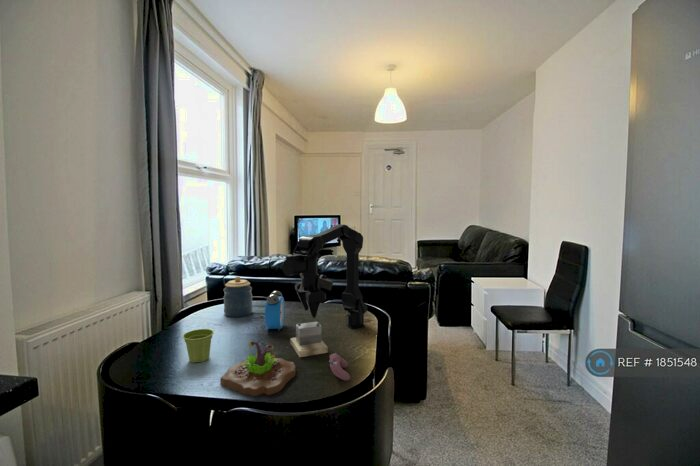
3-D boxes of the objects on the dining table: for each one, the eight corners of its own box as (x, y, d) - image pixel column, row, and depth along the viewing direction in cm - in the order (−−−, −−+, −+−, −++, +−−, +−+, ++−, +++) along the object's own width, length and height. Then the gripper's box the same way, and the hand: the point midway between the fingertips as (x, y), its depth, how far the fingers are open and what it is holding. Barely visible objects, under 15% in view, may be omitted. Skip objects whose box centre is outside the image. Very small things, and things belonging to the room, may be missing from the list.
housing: (295, 340, 128) (295, 322, 127) (317, 337, 131) (317, 319, 130) (299, 345, 123) (299, 327, 122) (321, 342, 126) (321, 324, 126)
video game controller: (335, 371, 112) (325, 352, 111) (348, 364, 112) (338, 345, 112) (337, 387, 102) (326, 367, 102) (351, 380, 103) (340, 359, 102)
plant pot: (195, 368, 111) (194, 341, 110) (177, 361, 116) (176, 335, 115) (220, 357, 119) (219, 332, 118) (202, 351, 124) (202, 327, 123)
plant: (251, 359, 118) (250, 326, 117) (304, 368, 112) (304, 333, 111) (209, 389, 99) (208, 350, 98) (270, 401, 93) (269, 360, 92)
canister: (258, 312, 169) (257, 275, 168) (236, 319, 158) (235, 280, 157) (240, 307, 176) (239, 272, 175) (217, 314, 165) (216, 277, 164)
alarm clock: (279, 333, 141) (279, 296, 139) (264, 334, 141) (263, 296, 139) (285, 322, 154) (284, 288, 152) (271, 323, 154) (270, 288, 152)
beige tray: (316, 339, 135) (316, 333, 135) (327, 352, 123) (327, 346, 123) (290, 343, 131) (290, 337, 131) (299, 357, 119) (299, 350, 119)
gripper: (339, 274, 122) (340, 318, 123) (322, 265, 139) (322, 304, 140) (308, 277, 117) (309, 323, 119) (294, 267, 134) (295, 307, 136)
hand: (310, 313), depth 129 cm, fingers open, 9 cm apart
